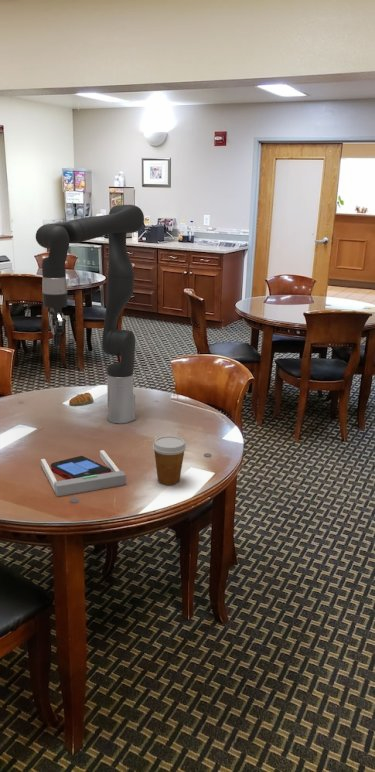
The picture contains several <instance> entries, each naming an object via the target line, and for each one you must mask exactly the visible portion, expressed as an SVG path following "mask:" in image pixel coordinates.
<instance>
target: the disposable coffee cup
mask: <svg viewBox="0 0 375 772" xmlns="http://www.w3.org/2000/svg"><path fill="white" fill-rule="evenodd" d="M152 448H153V451H154V458H155V459H154V460H155V468H156V475H157V482H158V483H159V484H160V485H165V486H174V485H177V484H179V482H180V479H181V473H182V469H183V460H184V455H185V451H186V448H187V445H186V442H185V440H184V439H183V438H181V437H179V436H173V435H166V436H165V435H164V436H159V437H157V438H156V439H155V440H154V442H153V443H152Z"/></svg>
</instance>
